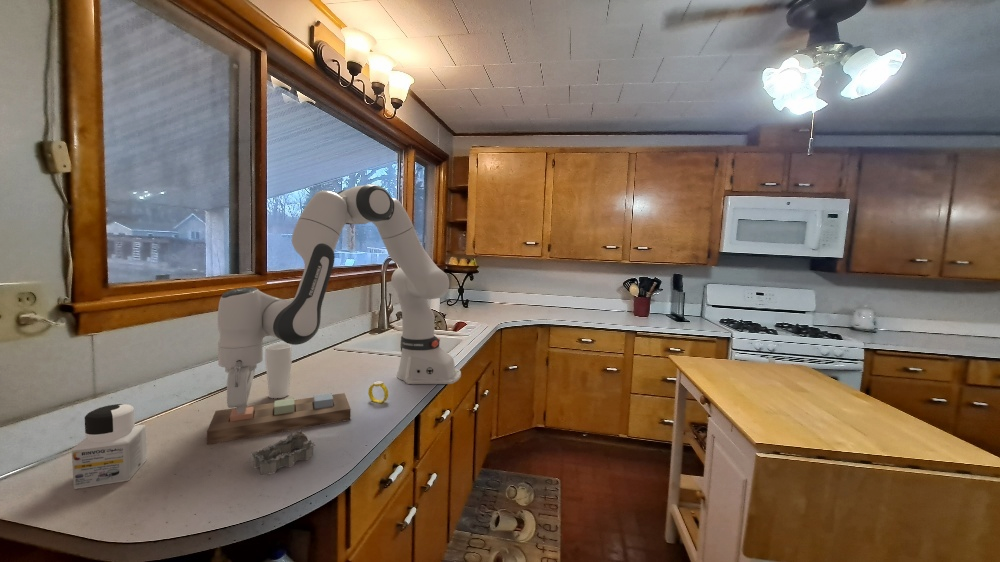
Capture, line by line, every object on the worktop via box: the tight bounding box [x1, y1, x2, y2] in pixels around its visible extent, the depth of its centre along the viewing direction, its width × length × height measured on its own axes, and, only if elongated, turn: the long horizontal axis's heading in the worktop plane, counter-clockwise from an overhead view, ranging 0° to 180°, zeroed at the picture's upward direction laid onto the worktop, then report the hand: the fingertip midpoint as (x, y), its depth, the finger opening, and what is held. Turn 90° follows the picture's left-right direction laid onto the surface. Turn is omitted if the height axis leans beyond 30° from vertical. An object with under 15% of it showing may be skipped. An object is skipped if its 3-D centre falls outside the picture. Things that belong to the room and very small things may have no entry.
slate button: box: [313, 392, 333, 409], centre depth 102 cm, size 4×4×3 cm
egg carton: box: [251, 429, 317, 475], centre depth 80 cm, size 11×8×4 cm
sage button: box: [274, 398, 295, 415], centre depth 97 cm, size 4×4×3 cm
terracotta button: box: [230, 407, 254, 422], centre depth 93 cm, size 4×4×3 cm
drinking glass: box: [264, 343, 293, 399], centre depth 113 cm, size 7×7×15 cm
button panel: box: [206, 392, 352, 445], centre depth 98 cm, size 30×12×3 cm, turn 119°
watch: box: [367, 380, 389, 404], centre depth 112 cm, size 6×3×6 cm, turn 71°
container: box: [71, 403, 148, 490], centre depth 73 cm, size 8×8×13 cm
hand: (241, 411), depth 93 cm, fingers closed, pressing on terracotta button
